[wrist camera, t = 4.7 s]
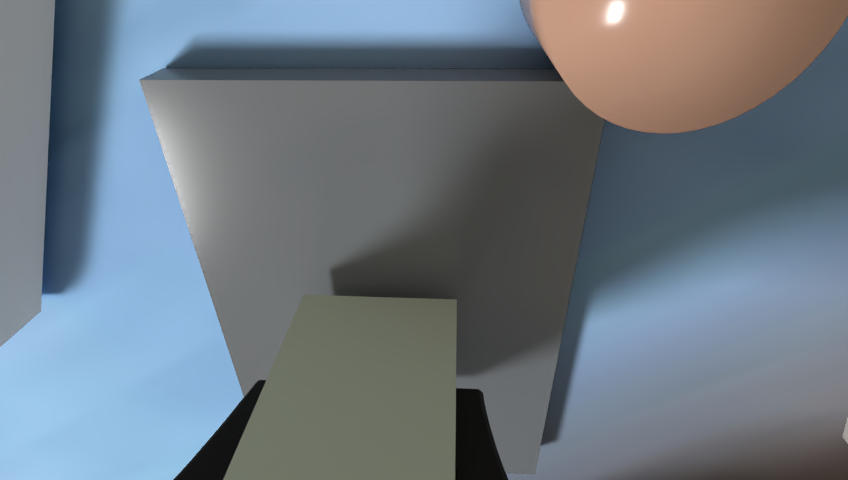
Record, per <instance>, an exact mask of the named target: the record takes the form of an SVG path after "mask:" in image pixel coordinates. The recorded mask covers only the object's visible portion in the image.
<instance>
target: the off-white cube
mask: <svg viewBox="0 0 848 480" xmlns="http://www.w3.org/2000/svg"><path fill="white" fill-rule="evenodd" d="M842 437H843V438H844V439H845V441H846V442H847V443H848V418H847V422H846V425H845V429H844V433H843V436H842Z"/></svg>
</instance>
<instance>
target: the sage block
mask: <svg viewBox="0 0 848 480" xmlns="http://www.w3.org/2000/svg"><path fill="white" fill-rule="evenodd" d="M456 337H457V299H426V298H394V297H362V296H330V295H303V297H302V299H301V301H300V304H299V306H298V308H297V311H296V313H295V315H294V318H293V320H292V322H291V324H290V327H289V329H288V331H287V334H286V336H285V338H284V341H283V343H282V345H281V348H280V350H279V352H278V354H277V357H276V359H275V361H274V364H273V366H272V368H271V371H270V373H269V375H268V377H267V380H266V382H265V384H264V387H263V389H262V391H261V394H260V396H259V398H258V401H257V403H256V405H255V407H254V410H253V412H252V414H251V417H250V419H249V421H248V424H247V426H246V428H245V430H244V433H243V435H242V437H241V440H240V442H239V444H238V447H237V449H236V451H235V454H234V456H233V458H232V460H231V463H230V465H229V467H228V470H227V472H226V474H225V477H224V479H223V480H455V443H456Z"/></svg>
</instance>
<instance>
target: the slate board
mask: <svg viewBox="0 0 848 480" xmlns="http://www.w3.org/2000/svg"><path fill="white" fill-rule="evenodd" d="M140 83H141V86H142V89H143V92H144V95H145V98H146V101H147V104H148V107H149V110H150V113H151V116H152V119H153V122H154V125H155V128H156V131H157V134H158V137H159V140H160V144H161V147H162V150H163V153H164V156H165V159H166V162H167V165H168V168H169V171H170V174H171V177H172V180H173V183H174V186H175V189H176V192H177V195H178V198H179V201H180V204H181V207H182V210H183V213H184V216H185V219H186V222H187V225H188V228H189V232H190V235H191V238H192V241H193V244H194V247H195V250H196V253H197V256H198V259H199V262H200V265H201V268H202V271H203V274H204V277H205V280H206V283H207V286H208V289H209V292H210V295H211V298H212V301H213V304H214V307H215V310H216V313H217V316H218V319H219V323H220V326H221V329H222V332H223V335H224V338H225V341H226V344H227V347H228V350H229V353H230V356H231V359H232V362H233V365H234V368H235V371H236V374H237V377H238V380H239V383H240V386H241V389H242V392H243V395H244V397H245V396H246V394H247V393H248V392H249V391H250V389H251V388H252V387H253V386H254V384H255V383H256V382H257V381H259V380H267V377H268V375H269V373H270V371H271V368H272V366H273V364H274V361H275V359H276V357H277V354H278V352H279V350H280V348H281V345H282V343H283V341H284V338H285V336H286V334H287V331H288V329H289V327H290V324H291V322H292V320H293V318H294V315H295V313H296V311H297V308H298V306H299V304H300V301H301V299H302V297H303V295H330V296H362V297H394V298H426V299H457V337H456V388H465V389H479V390H480V391H482V392H483V396H484V402H485V407H486V412H487V416H488V420H489V424H490V427H491V431H492V434H493V438H494V441H495V444H496V447H497V450H498V453H499V456H500V459H501V462H502V465H503V467H504V470H505V473H517V474H535V471H536V466H537V461H538V456H539V451H540V446H541V440H542V435H543V430H544V425H545V420H546V415H547V410H548V405H549V400H550V395H551V390H552V385H553V380H554V374H555V369H556V364H557V359H558V354H559V349H560V344H561V339H562V334H563V329H564V324H565V319H566V313H567V308H568V303H569V298H570V293H571V288H572V283H573V278H574V273H575V268H576V263H577V258H578V253H579V247H580V242H581V237H582V232H583V227H584V222H585V217H586V212H587V207H588V202H589V197H590V192H591V187H592V181H593V176H594V171H595V166H596V161H597V156H598V151H599V146H600V141H601V136H602V131H603V126H604V121H605V119H604V118H602V117H600V116H598V115H597V114H595V113H594V112H593V111H591V110H590V109H589V108H587V107H586V106H585V105H584V104H583V103H582V102H581V101H580V100H579V99H578V98H577V97H576V96H575V95H574V94H573V92H572V91H571V90H570V88H569V87H568V86H567V84H566V83H565V81H564V80H563V78H562V77H561V75H560V74H559V72H558V71H557V69H235V68H163V69H161V70H159V71H157V72H155V73H153V74H151V75H149V76H146V77H144V78H142V79H140Z"/></svg>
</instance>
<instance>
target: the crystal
mask: <svg viewBox="0 0 848 480" xmlns="http://www.w3.org/2000/svg"><path fill="white" fill-rule="evenodd" d="M54 15H55V0H0V347H1V346H2V345H3V344H4V343H5V342H6V341H8V340H9V339H10V338H11V337H12V336H13V335H14V334H16V333H17V332H18V331H19V330H20V329H21V328H22V327H23V326H25V325H26V324H27V323H28V322H29V321H30V320H31V319H33V318H34V317H35V316H36V315H37V314H38V313H39V312H41V297H42V276H43V254H44V232H45V211H46V189H47V167H48V145H49V124H50V102H51V80H52V58H53V37H54Z"/></svg>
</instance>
